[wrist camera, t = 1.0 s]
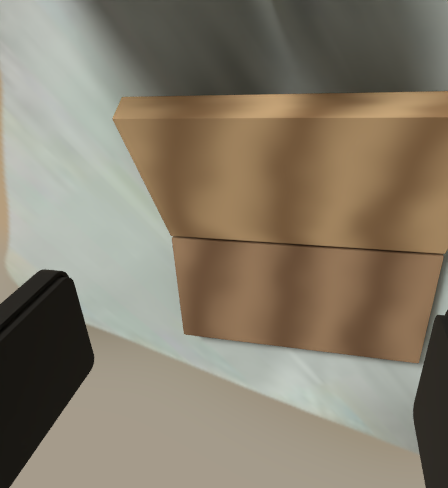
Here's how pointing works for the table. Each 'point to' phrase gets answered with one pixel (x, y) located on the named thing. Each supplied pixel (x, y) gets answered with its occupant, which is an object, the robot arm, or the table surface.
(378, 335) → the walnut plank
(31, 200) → the table surface
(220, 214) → the oak plank
